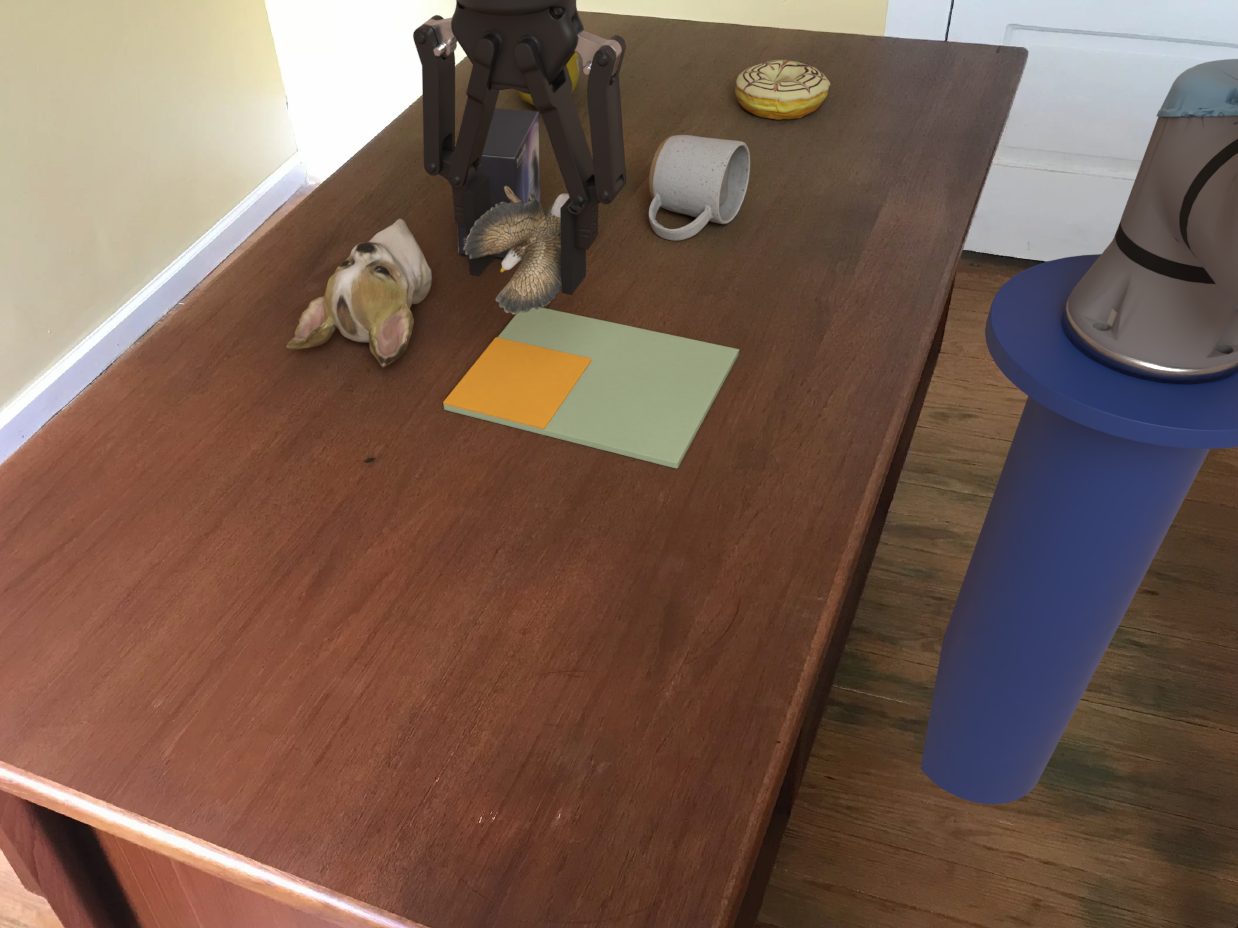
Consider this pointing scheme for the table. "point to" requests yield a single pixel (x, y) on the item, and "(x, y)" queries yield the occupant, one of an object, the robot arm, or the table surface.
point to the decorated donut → (781, 89)
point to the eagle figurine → (522, 249)
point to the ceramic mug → (698, 182)
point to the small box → (510, 160)
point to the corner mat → (596, 384)
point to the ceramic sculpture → (370, 296)
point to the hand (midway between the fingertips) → (527, 275)
